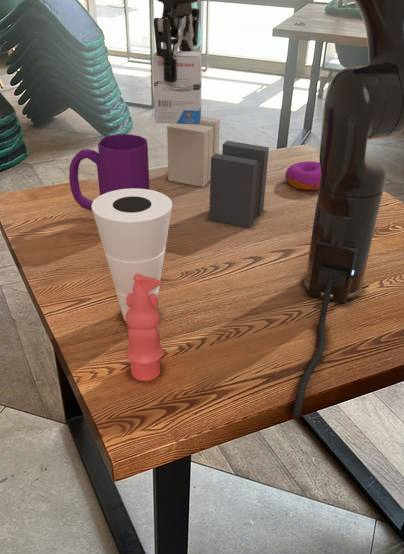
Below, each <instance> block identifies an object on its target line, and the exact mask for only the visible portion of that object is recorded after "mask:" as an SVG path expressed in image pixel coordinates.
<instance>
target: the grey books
mask: <svg viewBox="0 0 404 554" xmlns="http://www.w3.org/2000/svg"><path fill="white" fill-rule="evenodd" d="M221 149H222V152H221V153H219V154H215V155H213V156H212V157H211V176H210V181H209V215H208V216H209V218H208V220H209V221H214V222H219V223H224V224H227V225H233V226H238V227H243V228H247V229H249V228H250V227H252V225H253V224H254V222H255V220H256V219H257V218H258V216H259V217H260V216H261V214H263V212H264V208H265V196H266V185H267V174H268V173H267V172H268V163H269V150H270V147H269V146H263V145H259V144H258V145H257V144H251V143H246V142H245V143H244V142H240V141H239V142H238V141H234V140H233V141H232V140H226V141H225V142H224V143H222V148H221Z"/></svg>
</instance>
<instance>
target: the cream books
mask: <svg viewBox="0 0 404 554" xmlns="http://www.w3.org/2000/svg"><path fill="white" fill-rule="evenodd" d="M220 123H221V119H220V118H213V117H208V116H207V117H206V116H201V120H200V123H199V124H176V123H169V125H167V126H166V134H167V135H166V138H167V139H166V141H167V181H168V182H175V183H179V184H185V185H189V186H190V185H191V186H196V187H200V188H204V187H205V186H207V184H208V183H210V176H211V157H212V156H213V155H215V154H220V128H221V127H220V126H221V124H220Z"/></svg>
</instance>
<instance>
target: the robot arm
mask: <svg viewBox="0 0 404 554" xmlns="http://www.w3.org/2000/svg"><path fill="white" fill-rule="evenodd" d="M156 1H157V2H159V3H161V4H162V5H163V7H162V14H161V17H154V18H153V30H154V31H153V32H154V40H155V42H154V43H155V49H156V50H155V52H156V53H157V56H160V57H162V58H163V59H164V80H165V81H166V82H172V83H173V82H175V81H176V80H177V59H176V57H177V51H191V52H194V49H195V48H194V47H197V46H198V42H199V41H198V39H199V26H200V25H199V24H200V8H195V7H193V6H192V4H194V3H197V2H198V1H199V0H156ZM353 1H354V4H355V6H356V7H357V9H358V11H359V13H360V16H361V18H362V21H363V24H364V28H365V33H366V40H367V52H368V53H367V54H368V64H367V65H357V66H348V67H345V68H342V69H340V70H339V71H337V72H336V73H335V75H333V77H332V79H331V80H330V82H329V84H328V88H327V90H326V94H325V98H324V105H323V111H322V112H323V113H322V122H321V134H320V145H319V156H318V157H319V158H318V159H319V163H320V169H321V178H320V185H319V189H318V191H317V199H316V203H315V210H314V217H313V224H312V231H311V239H310V245H309V251H308V258H307V266H306V270H305V271H306V272H305V275H304V281H303V283H304V287H305V288H306V290H307V296H311V297H316V298H320V299H322V302H321V306H320V312H319V317H318V326H317V337H318V343H317V347H316V351H315V353H314V355H313V357H312V358H311V361H310V362H309V363H308V365H307V366H306V368H305V369H304V371H303V373H302V376H301V378H300V381H299V383H298V387H297V390H296V395H295V399H294V403H293V404H294V405H293V408H292V412H291V415H292V416H293V417H294V418H299V417H300V416H301V413H302V407H303V403H304V399H305V393H306V389H307V386H308V383H309V380H310V378H311V376H312V374H313V373H314V371H315V369H316V368H317V366H318V364H319V363H320V361H321V359H322V357H323V355H324V352H325V348H326V322H327V321H326V320H327V314H328V310H329V309H328V308H329V304H330V301H332V302H336V303H341V304H346V303H347V301H349V300H352V299H355V298H356V297H358V296H359V295H361V293H362V290H363V286H364V278H365V274H366V268H367V265H368V261H369V255H370V252H371V251H370V250H371V248H372V247H371V246H372V242H373V237H374V233H375V229H376V223H377V220H378V215H379V211H380V206H381V202H382V198H383V193H384V191H385V190H384V189H385V184H386V180H387V171H386V169H385V167H384V166H383V165H382V164H380V163H379V162H377V161H375V160H374V159H370V158H368V157H366V153H367V144H368V141H369V140H375V139H381V138H387V137H393V136H396V135H399V134H401V133H402V132H404V0H353Z"/></svg>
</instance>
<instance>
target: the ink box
mask: <svg viewBox="0 0 404 554" xmlns="http://www.w3.org/2000/svg"><path fill="white" fill-rule="evenodd" d="M202 56H203V55H202V51H192V52H191V51H181V50H177V57H176V59H177V80H176V81H175V82H173V83H172V82H166V81H165V80H164V59H163V58H162V57H160V56H157V53H156V51H155V52H154V54H152V74H153V75H152V76H153V95H154V96H153V98H154V99H153V101H154V104H153V105H154V122H155V123H156V124H199V123H200V120H201V117H202V58H203V57H202Z"/></svg>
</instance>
